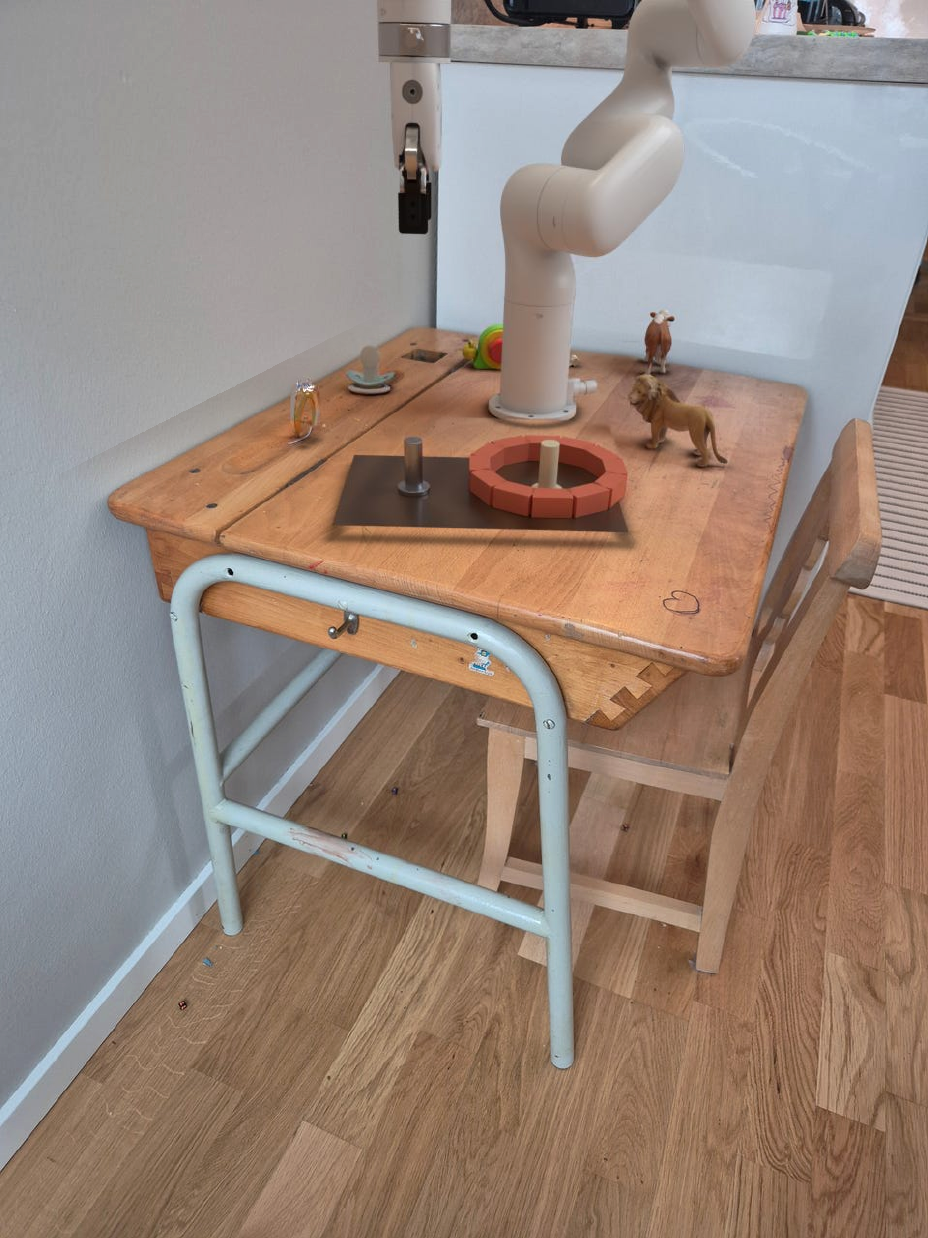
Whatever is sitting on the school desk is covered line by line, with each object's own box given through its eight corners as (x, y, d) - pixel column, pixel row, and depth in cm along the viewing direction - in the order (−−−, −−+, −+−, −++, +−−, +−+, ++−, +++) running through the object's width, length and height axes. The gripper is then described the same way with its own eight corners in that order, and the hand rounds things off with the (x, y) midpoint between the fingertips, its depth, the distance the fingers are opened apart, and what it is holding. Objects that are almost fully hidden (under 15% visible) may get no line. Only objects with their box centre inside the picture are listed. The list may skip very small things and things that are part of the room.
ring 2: (634, 519, 92) (637, 499, 91) (468, 516, 92) (468, 495, 91) (612, 455, 107) (614, 437, 105) (469, 452, 107) (469, 433, 105)
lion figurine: (615, 442, 114) (623, 376, 109) (636, 432, 118) (644, 366, 113) (717, 473, 106) (730, 402, 102) (736, 460, 110) (750, 391, 105)
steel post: (423, 481, 99) (422, 432, 96) (434, 494, 96) (434, 443, 93) (393, 486, 98) (392, 436, 95) (404, 499, 95) (403, 448, 92)
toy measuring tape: (459, 361, 144) (460, 320, 140) (573, 359, 146) (577, 319, 142) (464, 372, 138) (464, 331, 135) (582, 370, 140) (586, 329, 137)
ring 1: (306, 451, 110) (301, 390, 105) (284, 448, 110) (278, 387, 106) (331, 433, 115) (327, 374, 111) (310, 430, 116) (305, 371, 112)
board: (604, 471, 106) (606, 460, 105) (627, 544, 90) (628, 531, 90) (354, 465, 106) (353, 454, 105) (332, 537, 90) (332, 524, 90)
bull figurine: (668, 356, 148) (676, 307, 144) (666, 380, 137) (674, 328, 133) (643, 354, 149) (649, 305, 144) (638, 377, 138) (645, 325, 133)
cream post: (552, 484, 99) (557, 435, 96) (568, 497, 96) (572, 446, 93) (525, 489, 98) (528, 439, 95) (539, 502, 95) (543, 451, 92)
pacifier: (390, 397, 128) (396, 383, 133) (389, 356, 124) (395, 343, 129) (342, 395, 128) (350, 381, 133) (339, 354, 125) (347, 341, 130)
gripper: (449, 46, 82) (447, 240, 91) (452, 48, 96) (450, 215, 105) (370, 44, 82) (376, 238, 91) (385, 46, 96) (389, 213, 105)
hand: (415, 225), depth 98 cm, fingers open, 9 cm apart
